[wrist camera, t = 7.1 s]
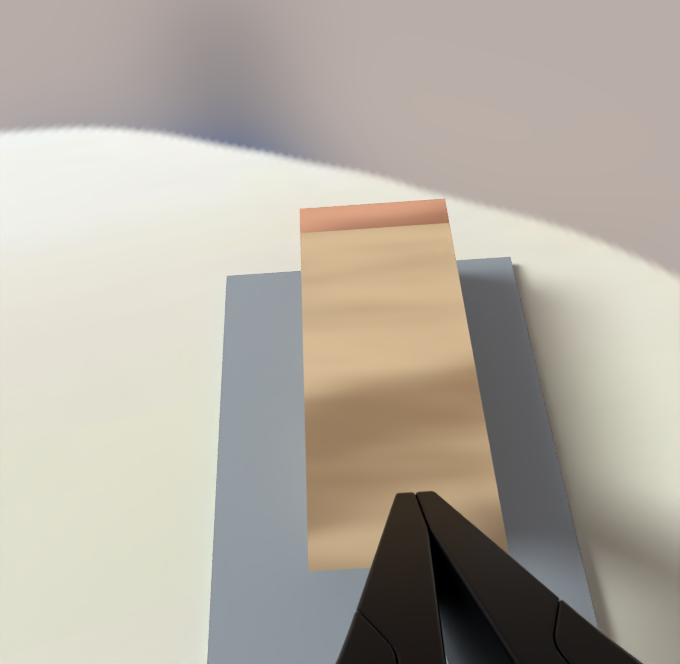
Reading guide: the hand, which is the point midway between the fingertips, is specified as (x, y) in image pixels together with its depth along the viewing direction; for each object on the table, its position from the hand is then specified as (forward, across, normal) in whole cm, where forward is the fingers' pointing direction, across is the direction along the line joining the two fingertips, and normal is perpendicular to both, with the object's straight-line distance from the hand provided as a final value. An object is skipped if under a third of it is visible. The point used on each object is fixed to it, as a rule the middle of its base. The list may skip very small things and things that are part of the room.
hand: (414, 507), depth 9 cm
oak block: (+2, 0, -4) cm, 5 cm away
